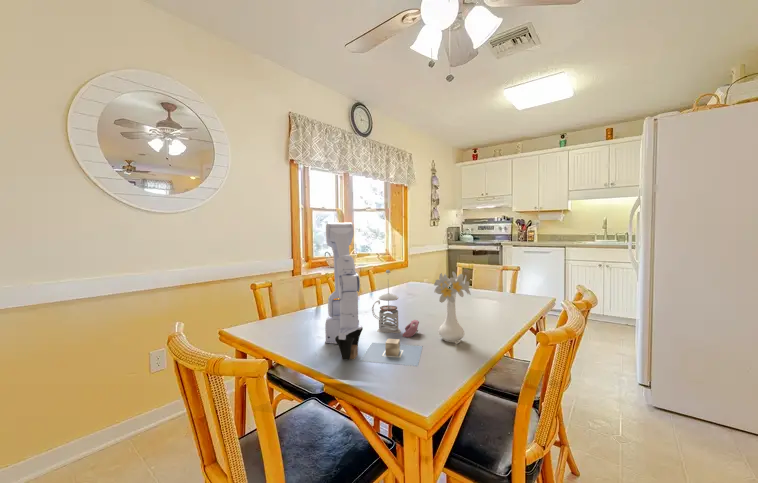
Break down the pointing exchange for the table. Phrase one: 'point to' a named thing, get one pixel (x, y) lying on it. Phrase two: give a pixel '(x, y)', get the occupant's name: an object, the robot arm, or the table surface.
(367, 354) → the board
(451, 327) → the flower vase
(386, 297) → the french press
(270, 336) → the table surface
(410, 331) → the video game controller
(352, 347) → the walnut block
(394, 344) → the birch block
